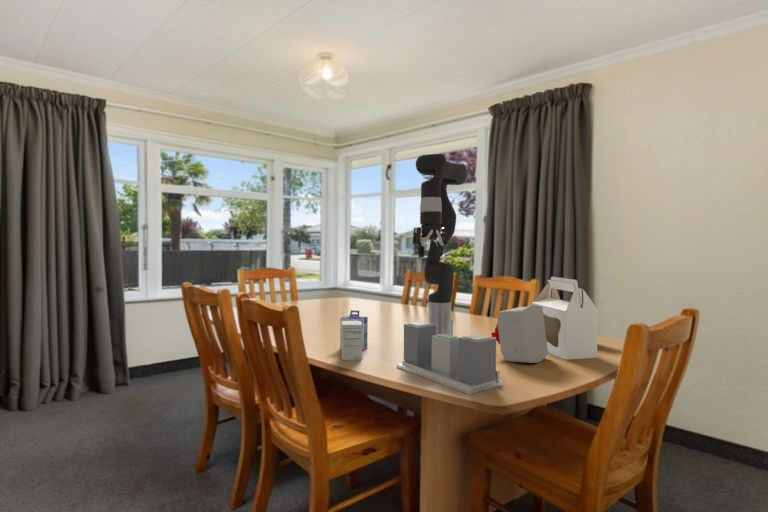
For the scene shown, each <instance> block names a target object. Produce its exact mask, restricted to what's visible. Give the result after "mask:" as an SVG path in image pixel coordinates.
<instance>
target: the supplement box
mask: <svg viewBox="0 0 768 512" xmlns="http://www.w3.org/2000/svg"><path fill="white" fill-rule="evenodd" d="M341 343H342V349H341V360H342V361H361V360H363V350H362V322H361V321H342V324H341Z"/></svg>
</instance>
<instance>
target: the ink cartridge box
mask: <svg viewBox="0 0 768 512" xmlns="http://www.w3.org/2000/svg"><path fill="white" fill-rule="evenodd" d="M368 317H369V316H361V315H360V310H352V309H351V310H350V313H349V316H348V315H344V316H342V317H340V323H339V325H340V328H339V331H340V333H339V334H340V336H339V338H340V339H339V343H340V345H339V348H340V350H342V343H341V324H342V321H361V322H362V351H365V350H366V349H367V348H368V345H369V344H368V331H369V330H368V323H369V322H368Z"/></svg>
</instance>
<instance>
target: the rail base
mask: <svg viewBox="0 0 768 512" xmlns="http://www.w3.org/2000/svg"><path fill="white" fill-rule="evenodd" d="M397 367H398V368H397ZM431 367H432V362H428V363H423V364H418V365H417V364H414V363H411V362H408V361H405V360H402V361H401V363H397V364H396V368H397V369H399V370H402V369H403V371H405V370H406V371H405V372H408V371H409V372H408V373H410V372H412V373H411V374H413V373H414V374H413V375H415V374H417V375H416V376H418V375H420V376H419V377H421V376H423V377H425V378H424V379H426V378H428V379H427V380H429V379H430V380H429V381H431V380H433V381H432V382H434V381H436V382H438V383H437V384H439V383H440V384H439V385H442V384H443V385H442V386H444V385H445V387H447V386H448V387H447V388H450V389H452V388H453V390H455V389H456V390H455V391H457V390H458V392H460V391H461V392H460V393H463V392H464V393H463V394H465V393H466V394H465V395H468V394H471V395H473V393H474V394H477V393H480V392H479V391H481V392H483V391H482V390H484V391H486V390H491V389H493V388H498V387H500V386H503V381H501V379H500V378H501V376H500V375H501V372H500V370H499V369H496V380H495V381H491V382H488V383H484V384H480V385H477V386H476V385H474V384H471V383H468V382H465V381H462V380H459V379H458V372H455V373H451V374H449V373H446V372H443V371H440V370H437V369H434V368H431ZM423 377H422V378H423ZM436 382H435V383H436ZM490 388H491V389H490ZM476 392H477V393H476Z"/></svg>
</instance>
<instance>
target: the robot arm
mask: <svg viewBox="0 0 768 512" xmlns="http://www.w3.org/2000/svg"><path fill="white" fill-rule="evenodd" d="M415 168H416V171H417V172H418V173H419V174H420V175H423V176H433V177H432V178H430V179H429V180H428V179H427V180H425V181H422V182H421V184H420V206H419V213H420V214H419V224H420V226H416V227H415V226H414V227H413V232H412V233H413V236H412V244H413V245H415V246H417V256H418V257H419V258H424V257H425V244H426V243H427V242H428V241H429V240H430V243H429V248H428V253H427V257H426V262H425V266H424V272H423V273H424V274H423V275H424V280H425V282H426V283H427V284H429V285H437V287H438V288H437V290H436V291H434V292H431V293H429V294H428V298H427V303H428V304H427V307H428V309H427V311H428V313H427V315H428V316H427V323H432V324H434V325H436V335H438V334H448V335H452V336H454V333H453V332H454V331H453V330H454V329H453V328H454V325H453V324H454V321H453V319H452V297H453V294H454V293H453V292H454V277H455V271H454V267H453V265H452V264H451V263H450V262H448V261H447V262H444V261H441V257H443V254H444V248H445V247H446V246H447V245H448V243H449V242H450V240H451V239H452V237H453V236H454V233H455V231H456V226H457V225H456V224H457V214H456V211H455V208H454V206H453V205H452V203H451V200H450V198H449V196H448V192H447V191H448V190H447V188H448V186H461V185H464V183H465V182H466V180H467V176H468V175H467V174H468V171H467V166H466V164H465V163H462V162H452V161H449V160H447V158H446V156H445V155H444V154H443V153H439V152H437V153H436V152H435V153H424V154H421V155H419V156H417V158H416V161H415Z"/></svg>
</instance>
